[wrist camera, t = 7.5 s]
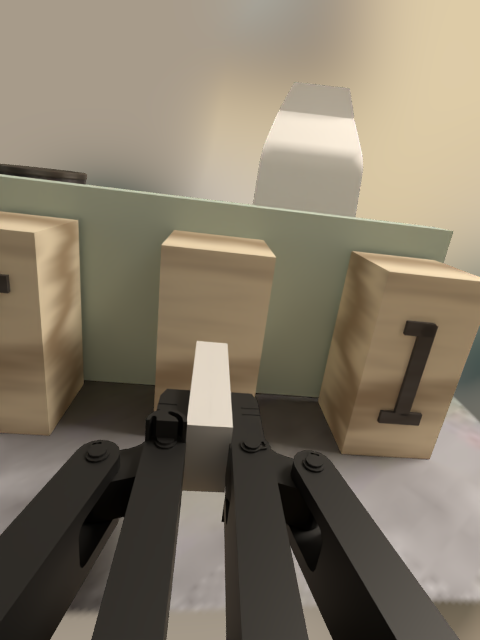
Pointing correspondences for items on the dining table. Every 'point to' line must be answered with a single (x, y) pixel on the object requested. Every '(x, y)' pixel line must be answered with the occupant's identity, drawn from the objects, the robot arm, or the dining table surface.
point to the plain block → (212, 306)
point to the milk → (312, 154)
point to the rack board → (220, 219)
